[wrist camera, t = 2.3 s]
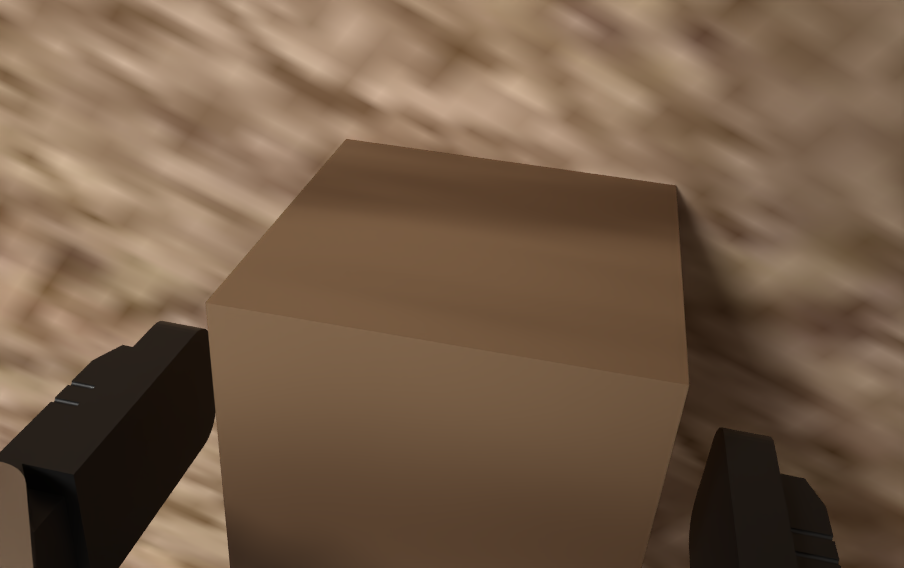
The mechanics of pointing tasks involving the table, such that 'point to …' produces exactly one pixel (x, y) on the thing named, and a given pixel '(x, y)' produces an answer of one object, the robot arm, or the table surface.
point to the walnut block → (451, 367)
